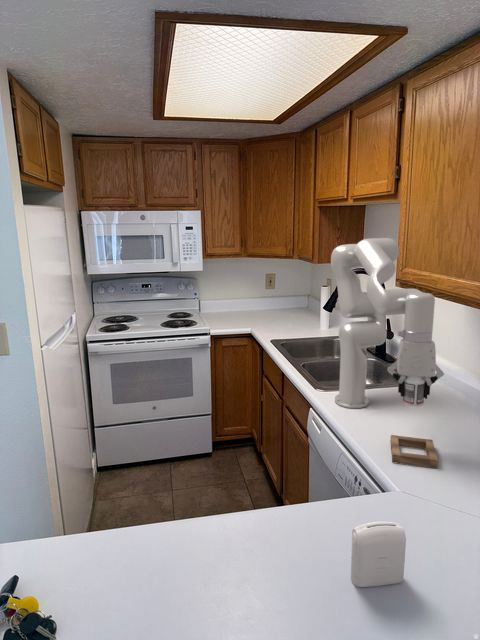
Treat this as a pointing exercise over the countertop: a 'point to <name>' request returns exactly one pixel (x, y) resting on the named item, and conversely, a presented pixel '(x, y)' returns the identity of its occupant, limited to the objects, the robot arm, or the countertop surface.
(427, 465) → the walnut dock
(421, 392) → the pill bottle
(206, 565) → the countertop surface
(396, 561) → the photo printer
